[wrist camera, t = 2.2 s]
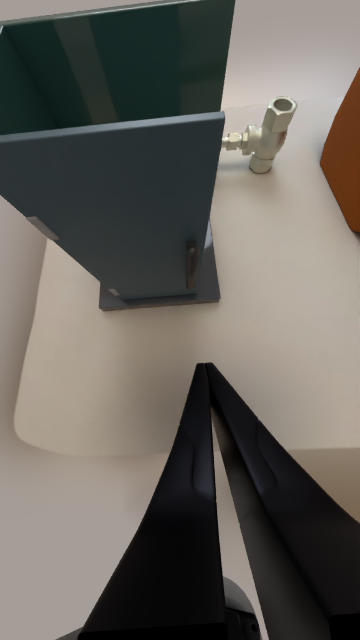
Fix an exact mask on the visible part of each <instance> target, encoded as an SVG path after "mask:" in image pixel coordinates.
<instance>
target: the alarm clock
mask: <svg viewBox="0 0 360 640" xmlns="http://www.w3.org/2000/svg"><path fill="white" fill-rule="evenodd" d="M320 166H321V168H322V170H323V172H324V174H325V176H326V179H327V181H328V183H329V185H330V187H331V189H332V191H333V193H334V196H335V198H336V200H337V202H338V204H339V206H340V208H341V211H342V213H343V215H344V217H345V219H346V221H347V223H348V225H349V227H350V228H351V230H352V231H356V232H360V68H359V70H358V71H357V73H356V76H355V78H354V80H353V82H352V84H351V86H350V88H349V90H348V92H347V94H346V96H345V98H344V100H343V102H342V104H341V106H340V108H339V110H338V112H337V114H336V116H335V118H334V121H333V123H332V126H331V129H330V131H329V134H328V137H327V139H326V142H325V144H324V148H323V153H322V157H321V161H320Z"/></svg>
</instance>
